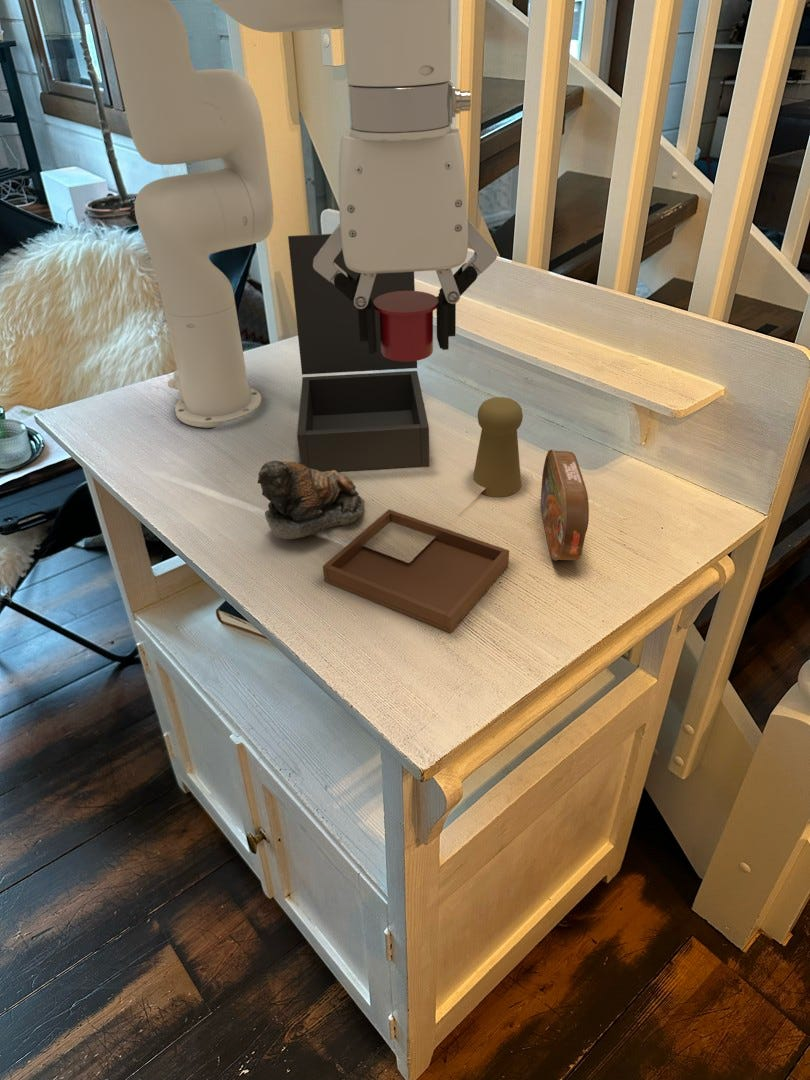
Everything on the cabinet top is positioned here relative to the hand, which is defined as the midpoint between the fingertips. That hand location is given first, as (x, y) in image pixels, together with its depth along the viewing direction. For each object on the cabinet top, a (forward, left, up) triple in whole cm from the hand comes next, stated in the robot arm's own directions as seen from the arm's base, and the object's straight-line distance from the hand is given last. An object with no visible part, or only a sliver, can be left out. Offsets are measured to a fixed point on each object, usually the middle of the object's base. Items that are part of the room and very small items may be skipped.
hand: (407, 344), depth 67 cm
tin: (+11, +13, -25) cm, 30 cm away
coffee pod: (0, 0, -1) cm, 1 cm away
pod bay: (-20, +19, -24) cm, 37 cm away
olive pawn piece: (0, +19, -25) cm, 31 cm away
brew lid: (-26, +27, -9) cm, 38 cm away
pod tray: (+1, -1, -24) cm, 24 cm away
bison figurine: (-13, 0, -25) cm, 28 cm away
